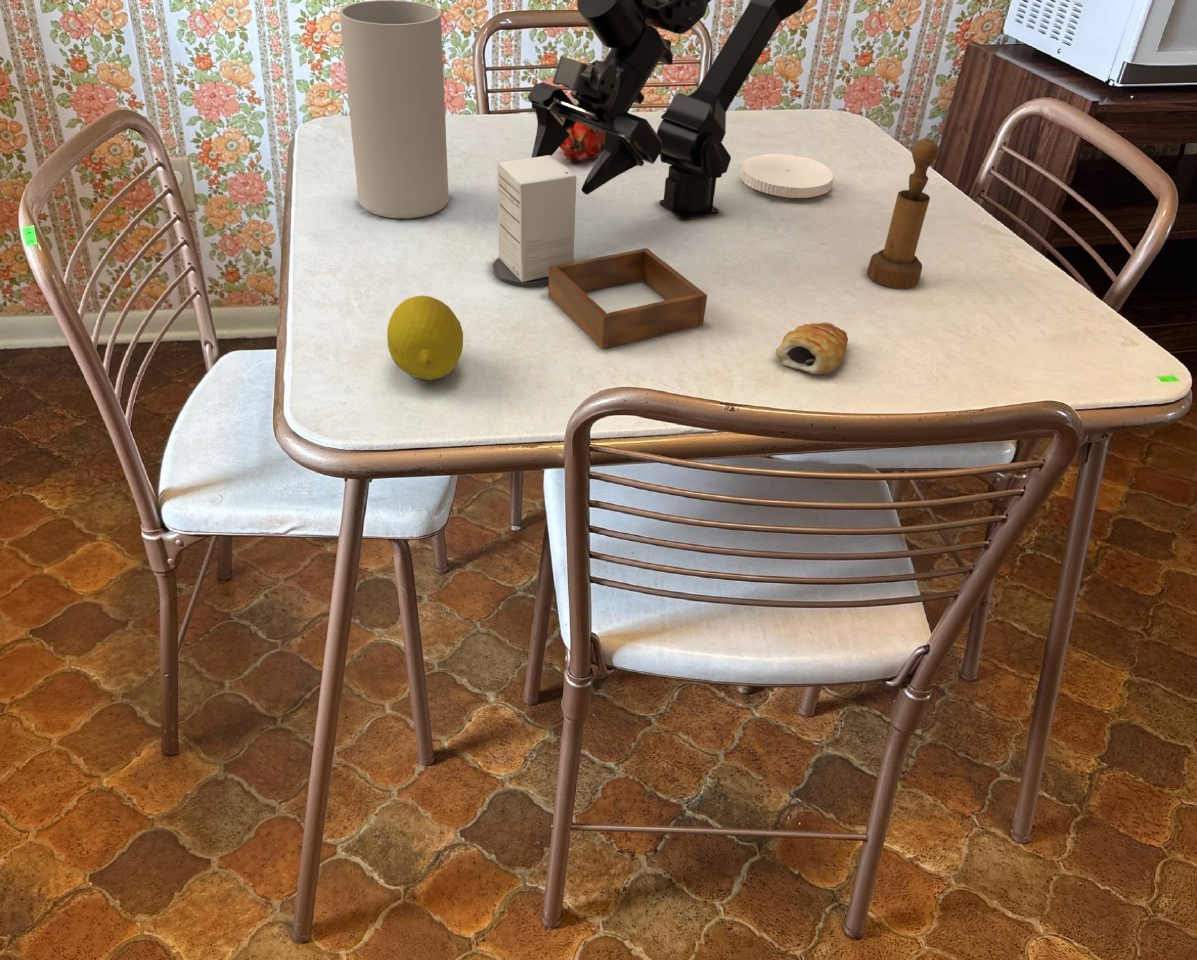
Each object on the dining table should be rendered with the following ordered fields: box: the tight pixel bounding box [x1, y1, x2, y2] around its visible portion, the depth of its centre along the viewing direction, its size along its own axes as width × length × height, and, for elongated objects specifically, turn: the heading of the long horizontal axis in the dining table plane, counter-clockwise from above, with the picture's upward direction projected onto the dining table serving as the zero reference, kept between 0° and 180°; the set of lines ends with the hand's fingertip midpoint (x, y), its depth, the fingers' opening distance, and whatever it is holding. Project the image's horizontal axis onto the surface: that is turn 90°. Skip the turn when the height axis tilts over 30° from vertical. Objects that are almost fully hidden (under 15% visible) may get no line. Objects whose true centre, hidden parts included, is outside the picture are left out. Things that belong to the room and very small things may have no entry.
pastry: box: [775, 322, 849, 375], centre depth 111 cm, size 9×7×4 cm
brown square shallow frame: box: [547, 247, 708, 350], centre depth 117 cm, size 14×14×4 cm
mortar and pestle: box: [866, 137, 940, 289], centre depth 123 cm, size 7×6×18 cm
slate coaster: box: [492, 257, 549, 288], centre depth 125 cm, size 9×9×1 cm
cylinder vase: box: [339, 0, 450, 220], centre depth 132 cm, size 12×12×25 cm
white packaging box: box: [496, 155, 577, 282], centre depth 121 cm, size 7×7×13 cm
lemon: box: [386, 295, 464, 381], centre depth 103 cm, size 11×8×8 cm
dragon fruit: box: [559, 103, 606, 164], centre depth 155 cm, size 8×8×12 cm
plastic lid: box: [740, 153, 835, 199], centre depth 152 cm, size 14×14×2 cm
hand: (557, 181), depth 121 cm, fingers open, 9 cm apart
